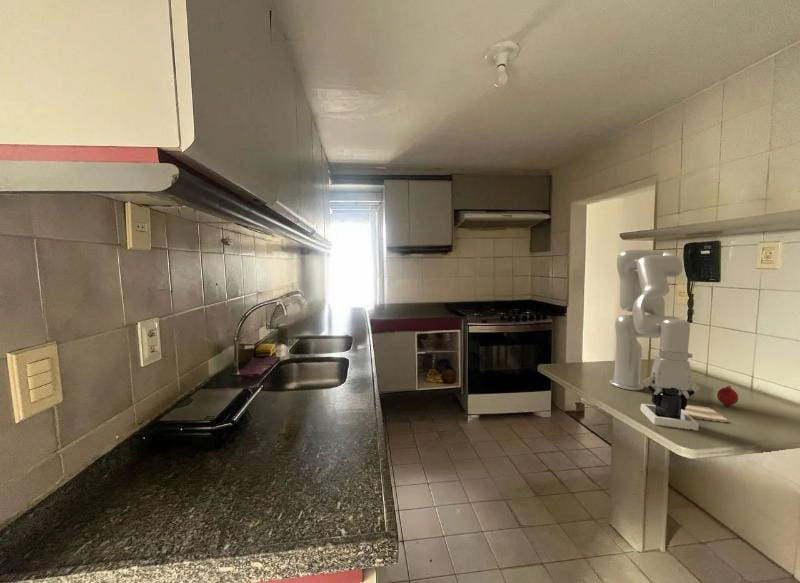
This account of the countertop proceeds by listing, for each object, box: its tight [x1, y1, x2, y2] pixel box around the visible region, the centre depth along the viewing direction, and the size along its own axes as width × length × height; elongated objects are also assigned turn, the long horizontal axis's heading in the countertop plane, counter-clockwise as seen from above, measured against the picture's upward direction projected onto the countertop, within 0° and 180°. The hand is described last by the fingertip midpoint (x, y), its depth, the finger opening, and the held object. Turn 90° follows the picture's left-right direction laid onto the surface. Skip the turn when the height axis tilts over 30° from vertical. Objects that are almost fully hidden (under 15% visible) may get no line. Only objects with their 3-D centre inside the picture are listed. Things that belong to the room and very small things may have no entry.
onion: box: [716, 385, 739, 407], centre depth 129 cm, size 6×6×8 cm
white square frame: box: [640, 403, 700, 431], centre depth 116 cm, size 12×12×2 cm
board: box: [682, 404, 729, 423], centre depth 122 cm, size 11×12×1 cm
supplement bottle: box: [654, 388, 682, 420], centre depth 115 cm, size 7×7×12 cm
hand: (668, 406), depth 115 cm, fingers closed on supplement bottle, 6 cm apart
